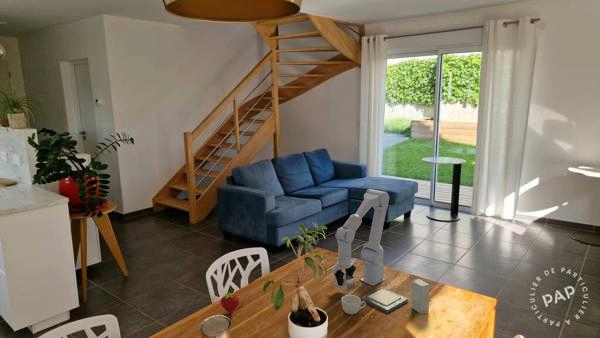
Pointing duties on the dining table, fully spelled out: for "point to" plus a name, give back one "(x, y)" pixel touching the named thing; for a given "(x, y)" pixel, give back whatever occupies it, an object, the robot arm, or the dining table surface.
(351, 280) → the block
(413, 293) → the skincare box
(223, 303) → the strawberry
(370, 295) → the stand
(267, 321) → the dining table surface
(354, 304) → the teacup
